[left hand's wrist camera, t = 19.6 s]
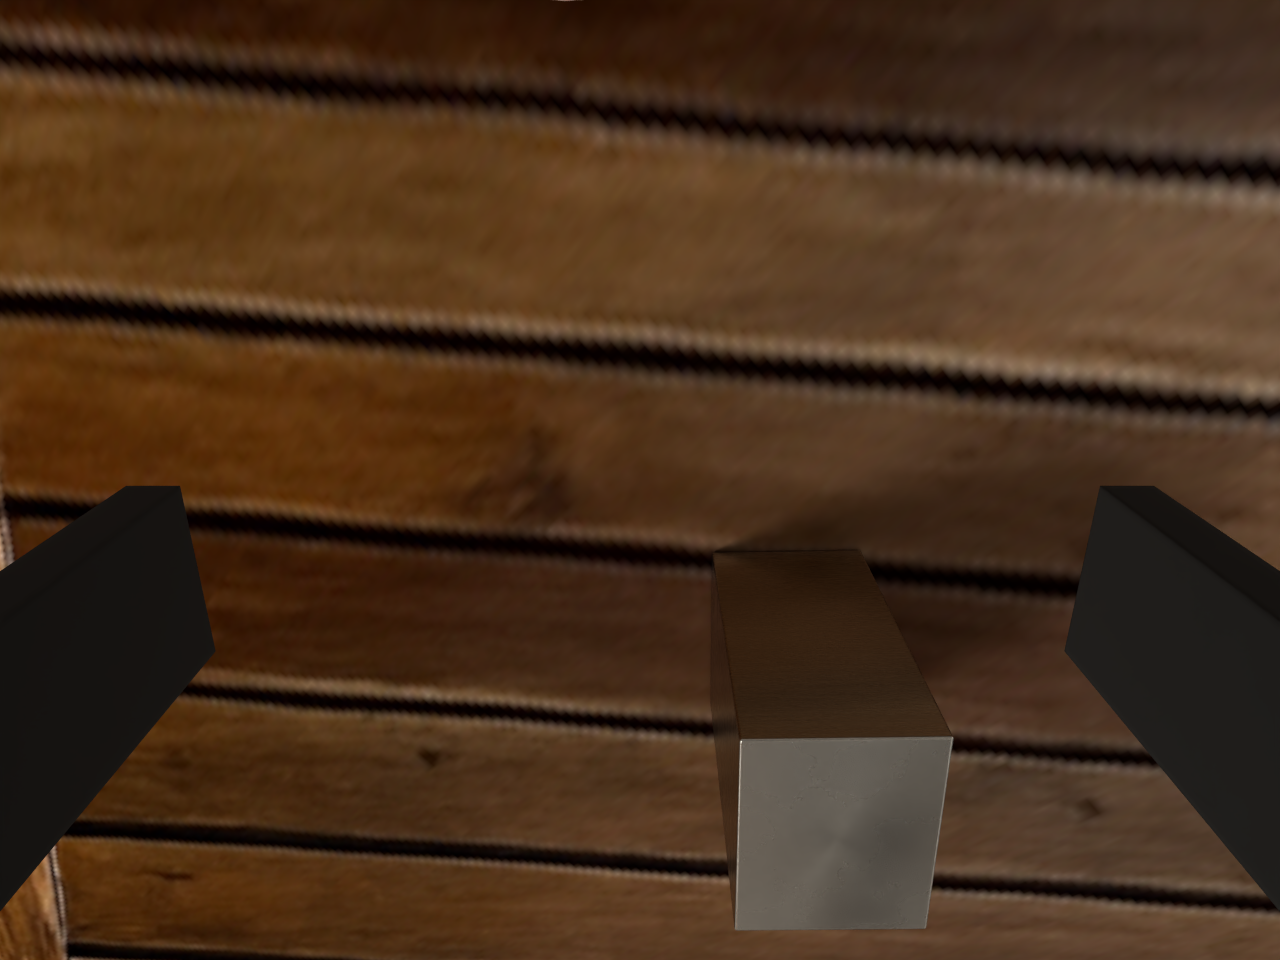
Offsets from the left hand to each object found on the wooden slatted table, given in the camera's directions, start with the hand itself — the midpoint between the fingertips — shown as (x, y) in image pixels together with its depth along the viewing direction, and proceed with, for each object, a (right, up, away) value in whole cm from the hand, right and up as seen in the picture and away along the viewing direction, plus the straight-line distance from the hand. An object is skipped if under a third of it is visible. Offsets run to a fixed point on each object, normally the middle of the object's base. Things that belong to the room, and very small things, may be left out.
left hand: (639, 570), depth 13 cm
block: (+6, -5, +24) cm, 26 cm away
